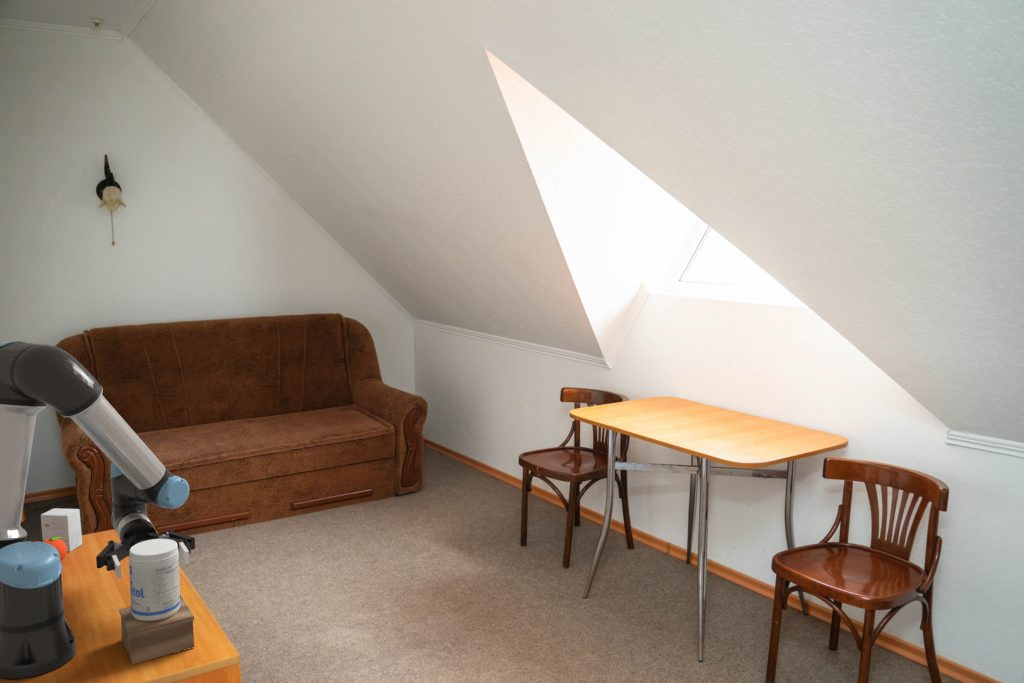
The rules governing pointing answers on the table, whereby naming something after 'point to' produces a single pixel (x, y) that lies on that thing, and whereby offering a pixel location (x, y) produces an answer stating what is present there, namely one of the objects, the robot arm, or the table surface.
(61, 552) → the clementine
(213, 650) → the table surface
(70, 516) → the small box
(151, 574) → the supplement tub
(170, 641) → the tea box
